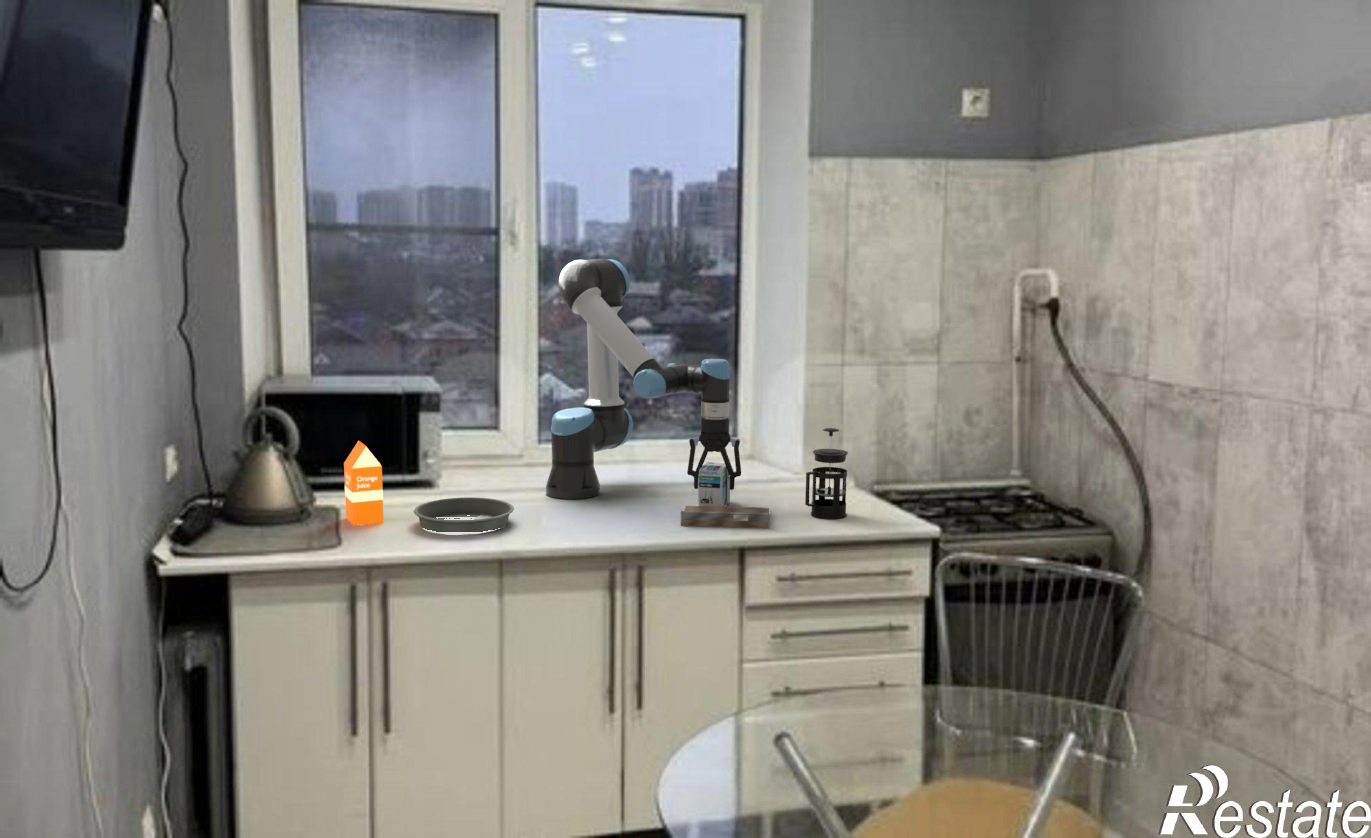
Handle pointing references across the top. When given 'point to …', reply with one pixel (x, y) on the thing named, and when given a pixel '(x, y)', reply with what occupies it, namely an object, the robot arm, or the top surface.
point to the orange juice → (363, 487)
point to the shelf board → (725, 516)
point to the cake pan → (463, 514)
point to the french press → (829, 506)
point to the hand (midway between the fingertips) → (713, 500)
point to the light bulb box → (713, 484)
